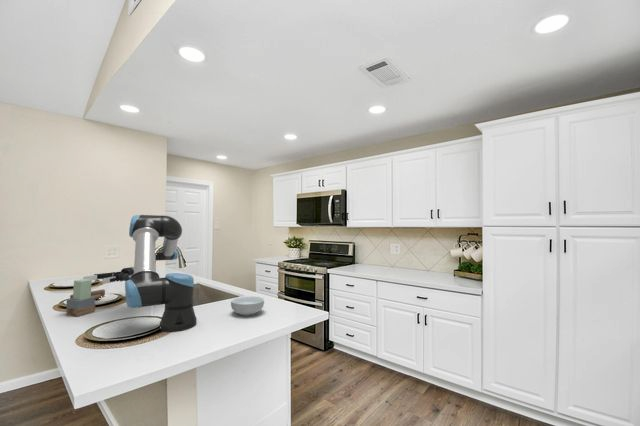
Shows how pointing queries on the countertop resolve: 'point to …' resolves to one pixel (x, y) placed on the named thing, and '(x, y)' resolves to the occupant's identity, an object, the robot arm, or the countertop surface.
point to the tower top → (80, 303)
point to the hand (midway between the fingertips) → (93, 280)
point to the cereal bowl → (247, 305)
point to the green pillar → (82, 289)
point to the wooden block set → (95, 294)
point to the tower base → (80, 311)
